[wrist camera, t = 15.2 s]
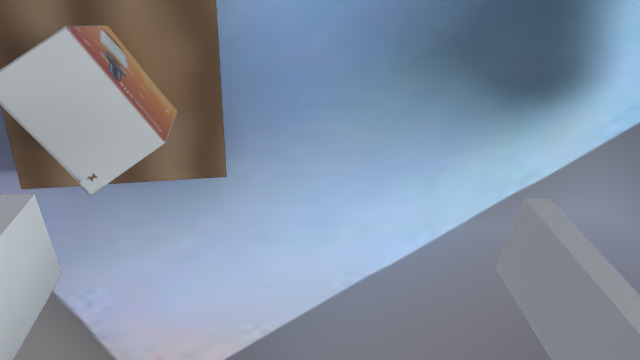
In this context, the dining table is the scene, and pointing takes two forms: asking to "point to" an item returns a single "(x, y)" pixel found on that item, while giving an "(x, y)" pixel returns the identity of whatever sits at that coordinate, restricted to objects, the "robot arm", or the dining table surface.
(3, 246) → the robot arm
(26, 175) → the walnut block
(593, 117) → the dining table surface
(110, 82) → the small box
